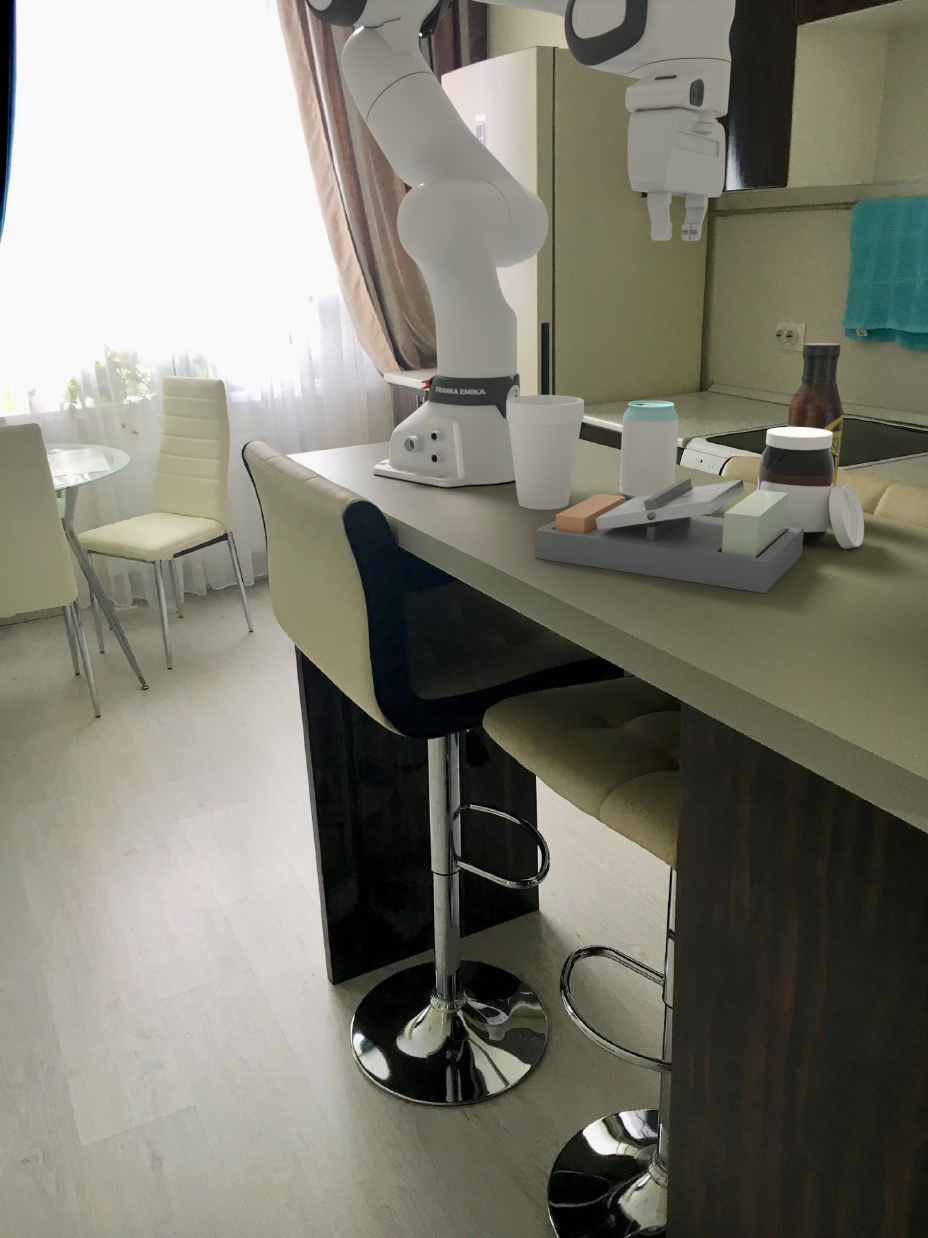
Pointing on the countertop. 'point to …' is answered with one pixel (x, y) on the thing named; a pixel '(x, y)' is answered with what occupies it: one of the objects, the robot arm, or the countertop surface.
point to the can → (648, 448)
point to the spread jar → (810, 485)
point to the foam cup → (544, 447)
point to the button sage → (754, 523)
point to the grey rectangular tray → (673, 552)
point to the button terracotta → (587, 513)
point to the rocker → (671, 504)
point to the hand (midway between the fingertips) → (676, 240)
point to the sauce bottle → (819, 395)
